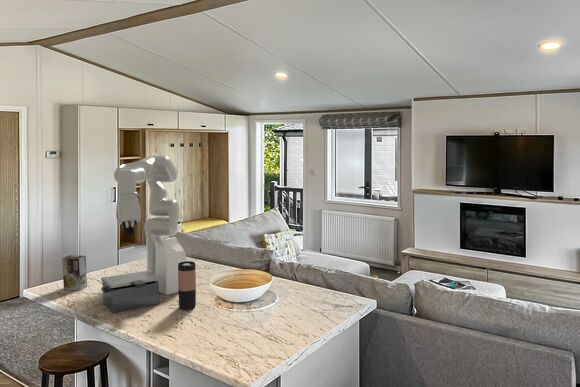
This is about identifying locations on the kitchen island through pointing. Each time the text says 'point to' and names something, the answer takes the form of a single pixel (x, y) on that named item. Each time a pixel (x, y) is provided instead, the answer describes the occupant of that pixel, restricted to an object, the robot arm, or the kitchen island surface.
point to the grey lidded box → (130, 296)
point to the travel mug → (187, 285)
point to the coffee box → (74, 272)
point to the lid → (130, 279)
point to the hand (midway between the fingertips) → (129, 235)
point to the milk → (169, 265)
